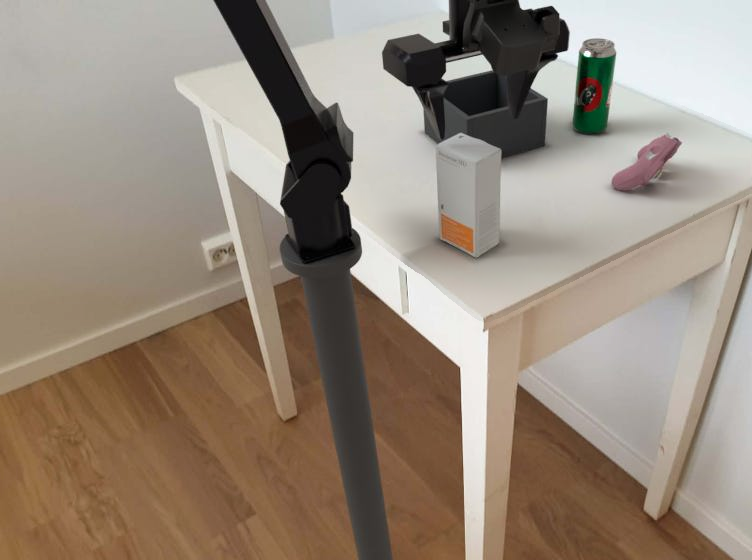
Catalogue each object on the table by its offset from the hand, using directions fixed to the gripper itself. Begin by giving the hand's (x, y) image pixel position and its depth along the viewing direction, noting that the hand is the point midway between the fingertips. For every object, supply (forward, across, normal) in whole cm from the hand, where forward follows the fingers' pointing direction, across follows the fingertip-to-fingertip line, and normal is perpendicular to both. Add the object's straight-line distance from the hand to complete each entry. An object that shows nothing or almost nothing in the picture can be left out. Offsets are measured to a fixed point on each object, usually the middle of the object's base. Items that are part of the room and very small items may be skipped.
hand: (477, 128), depth 78 cm
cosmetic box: (+13, -2, -2) cm, 13 cm away
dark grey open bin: (+13, +13, +20) cm, 27 cm away
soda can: (+13, +28, +15) cm, 34 cm away
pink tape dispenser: (+13, +25, -1) cm, 28 cm away
